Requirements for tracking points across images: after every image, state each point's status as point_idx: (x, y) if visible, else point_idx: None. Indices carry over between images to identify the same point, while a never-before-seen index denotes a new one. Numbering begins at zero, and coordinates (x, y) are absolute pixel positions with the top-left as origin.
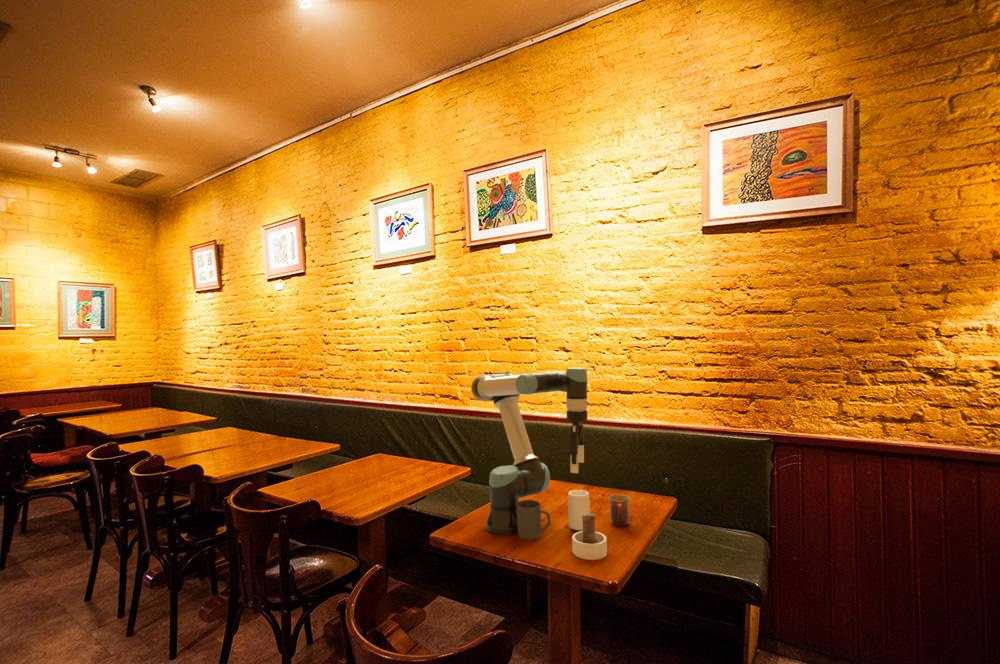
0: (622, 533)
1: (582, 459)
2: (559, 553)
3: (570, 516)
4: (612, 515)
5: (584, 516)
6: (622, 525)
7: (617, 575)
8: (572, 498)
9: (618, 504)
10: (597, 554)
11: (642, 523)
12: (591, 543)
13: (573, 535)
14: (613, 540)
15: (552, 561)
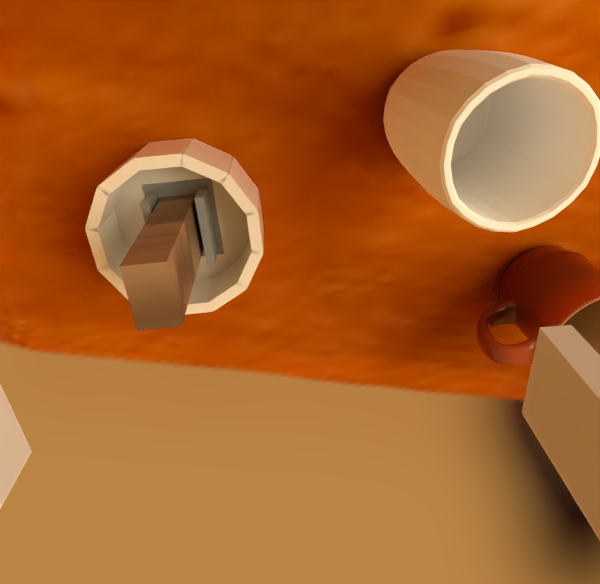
0: (424, 305)
1: (548, 436)
2: (106, 81)
3: (417, 76)
4: (531, 275)
5: (124, 275)
6: (500, 298)
7: (44, 344)
8: (443, 116)
9: (519, 350)
10: None
11: None
12: None
13: (164, 158)
14: (341, 284)
15: (3, 70)
